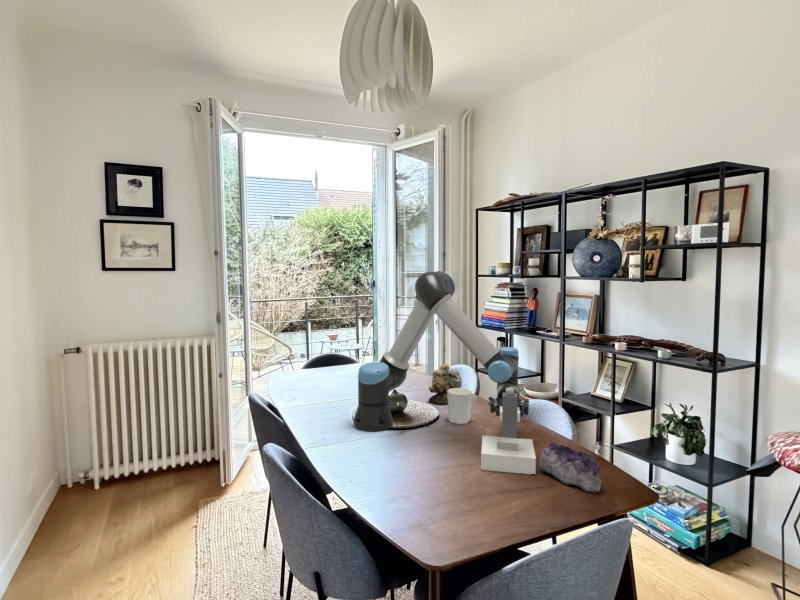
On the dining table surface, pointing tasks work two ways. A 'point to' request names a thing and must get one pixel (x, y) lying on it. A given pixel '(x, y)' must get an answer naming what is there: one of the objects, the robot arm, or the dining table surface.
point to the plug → (509, 413)
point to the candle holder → (459, 405)
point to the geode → (571, 467)
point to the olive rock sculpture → (443, 384)
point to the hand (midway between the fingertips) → (510, 417)
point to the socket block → (508, 455)
